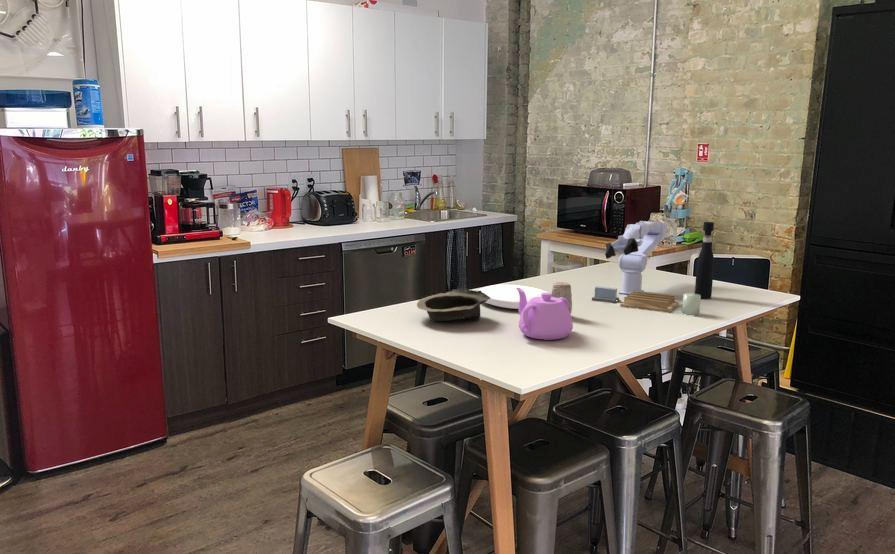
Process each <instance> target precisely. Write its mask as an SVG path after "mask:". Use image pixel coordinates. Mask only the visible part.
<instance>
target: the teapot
mask: <svg viewBox="0 0 895 554" xmlns="http://www.w3.org/2000/svg"><path fill="white" fill-rule="evenodd" d="M517 290H518V292H519V296H520V301H519V309H518V314H519V319H518V328H519V330H520V332H521V333H522V334H524V336H526V337H528V338H532V339H535V340H536V339H537V340H542V339H543V341H552V340H560V339H564V338H566V337H567V336H568V335H569V334H571V332H572V331H573V328H574V325H573V324H574V323H573V319H572V315H571V314H570V312H569V310H568V301H567V299H565V298H562V297H561V298H555V297H552V292H548V293H541V296H542V297H534V298H532V299H530V301H529V302H528V303H527V300H526V295H525V293H524V291H523V290H522V289H520V288H517Z"/></svg>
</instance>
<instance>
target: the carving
mask: <svg viewBox="0 0 895 554" xmlns="http://www.w3.org/2000/svg"><path fill="white" fill-rule="evenodd" d="M551 294H552V297H555V298H561V297H562V298H565V299H567V301H568V310H569V312H570V315H571V314H572V312H573V311H572V310H573V299H572V295H573V294H572V286H571V284H570V283H568V282H565V281H557V282H554V283H553V284H552V287H551Z"/></svg>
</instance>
